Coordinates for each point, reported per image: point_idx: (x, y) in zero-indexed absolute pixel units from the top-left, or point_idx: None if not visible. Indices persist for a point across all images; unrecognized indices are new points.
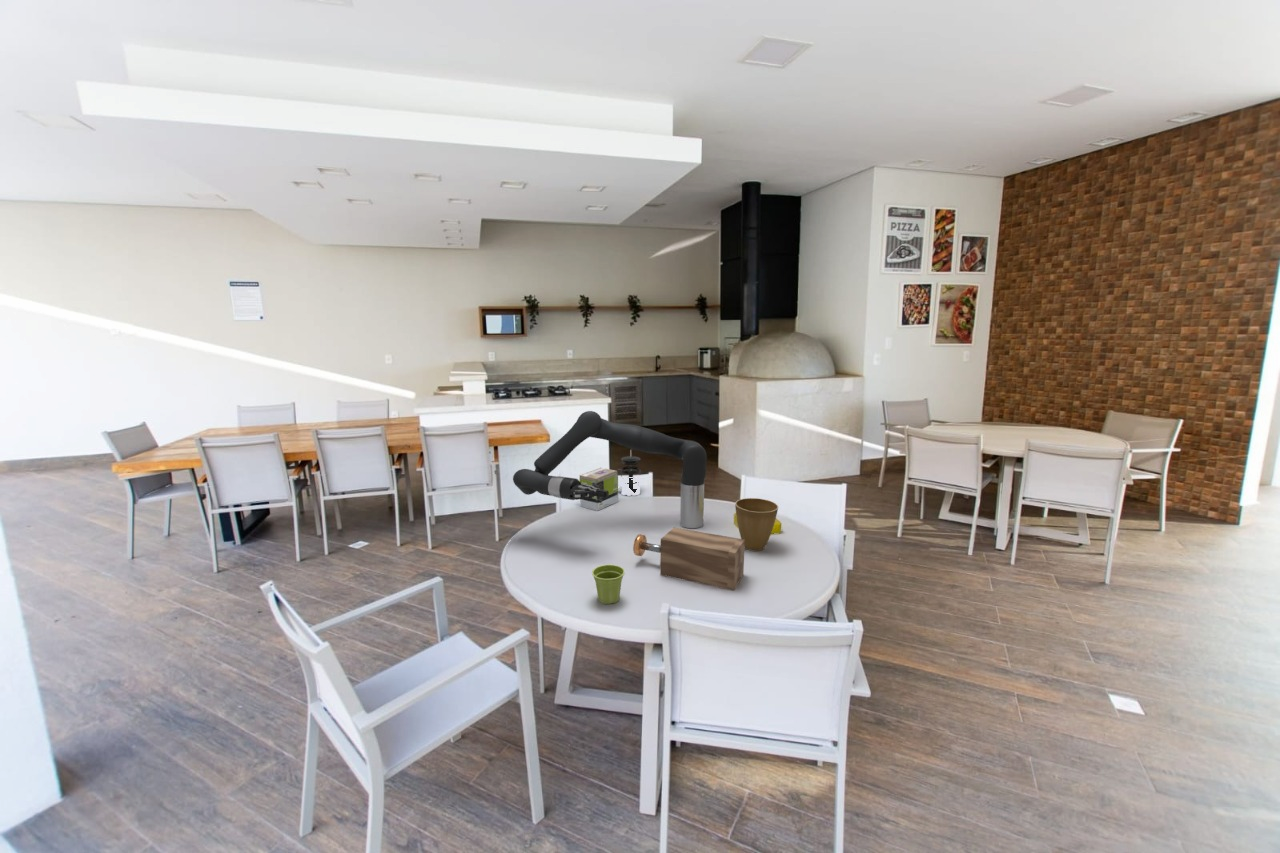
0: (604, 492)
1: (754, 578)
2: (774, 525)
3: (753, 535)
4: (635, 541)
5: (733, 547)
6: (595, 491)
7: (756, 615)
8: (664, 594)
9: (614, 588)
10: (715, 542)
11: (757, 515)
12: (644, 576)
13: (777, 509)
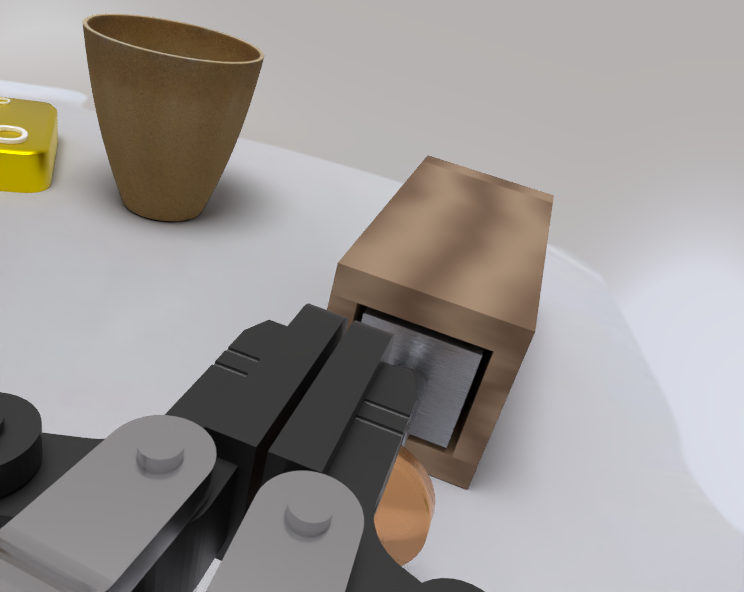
0: (380, 361)
1: None
2: (56, 117)
3: (228, 156)
4: (422, 494)
5: (508, 187)
6: (355, 518)
7: (618, 307)
8: (638, 489)
9: None
10: (484, 205)
11: (259, 72)
12: (510, 561)
13: (221, 36)
